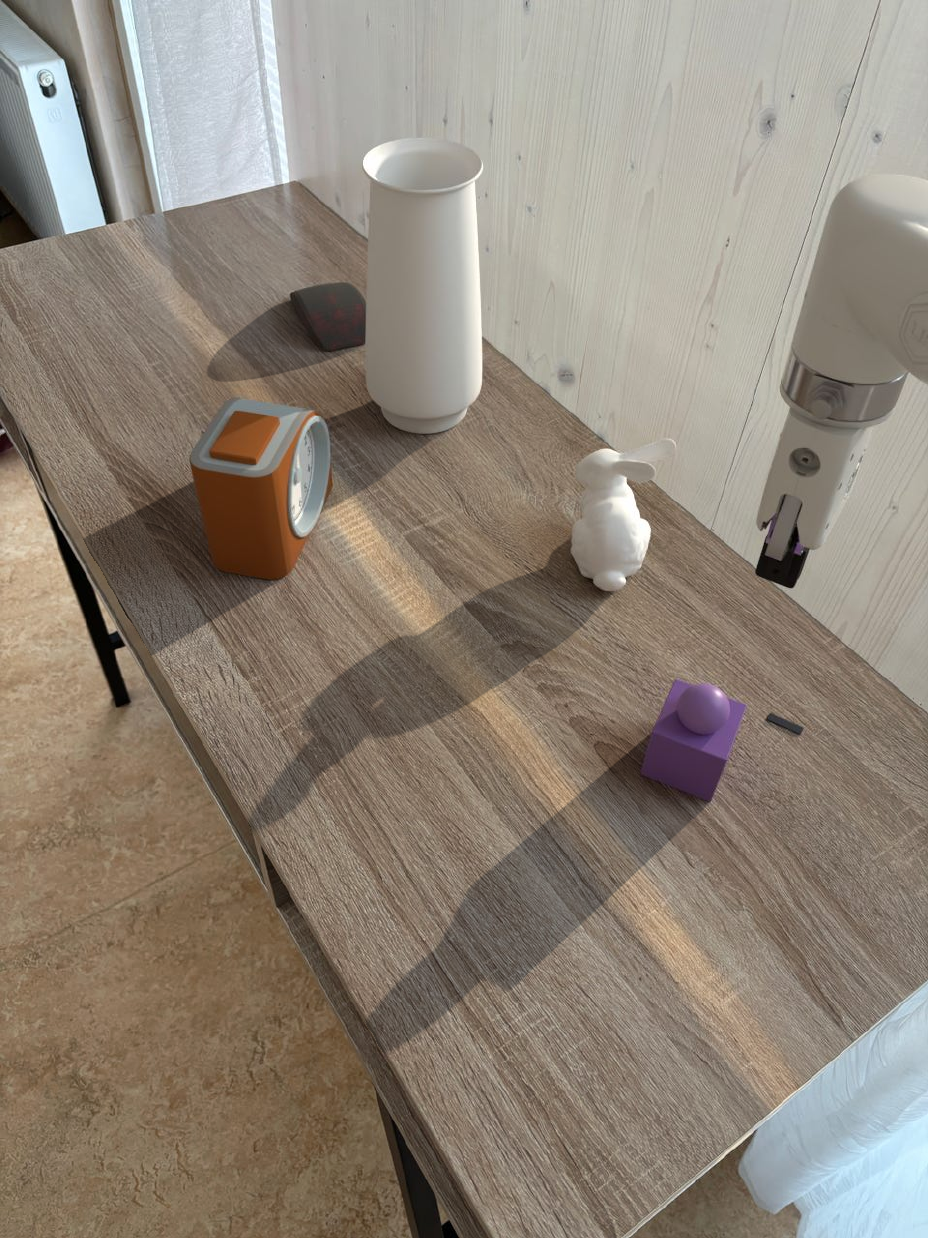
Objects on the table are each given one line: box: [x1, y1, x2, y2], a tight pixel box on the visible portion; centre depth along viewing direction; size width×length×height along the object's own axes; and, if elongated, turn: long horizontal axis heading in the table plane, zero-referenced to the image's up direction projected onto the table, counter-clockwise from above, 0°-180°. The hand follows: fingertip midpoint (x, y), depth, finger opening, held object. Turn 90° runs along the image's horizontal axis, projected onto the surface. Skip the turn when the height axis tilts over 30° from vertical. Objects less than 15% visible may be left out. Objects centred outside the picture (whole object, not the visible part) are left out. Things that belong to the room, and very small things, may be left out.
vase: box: [361, 137, 484, 435], centre depth 106 cm, size 13×13×28 cm
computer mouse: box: [289, 281, 366, 352], centre depth 127 cm, size 8×14×4 cm, turn 23°
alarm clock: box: [188, 397, 334, 581], centre depth 97 cm, size 15×8×14 cm, turn 167°
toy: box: [640, 678, 748, 803], centre depth 81 cm, size 6×6×9 cm
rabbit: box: [570, 437, 677, 592], centre depth 96 cm, size 12×9×12 cm
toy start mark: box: [766, 712, 805, 735], centre depth 87 cm, size 3×1×1 cm, turn 59°
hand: (776, 575), depth 80 cm, fingers closed
